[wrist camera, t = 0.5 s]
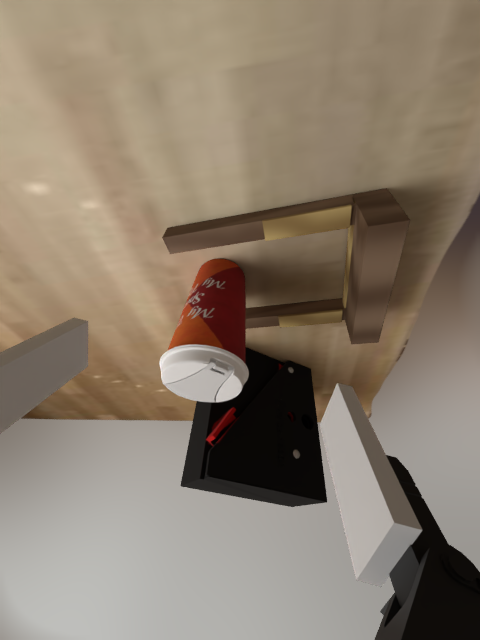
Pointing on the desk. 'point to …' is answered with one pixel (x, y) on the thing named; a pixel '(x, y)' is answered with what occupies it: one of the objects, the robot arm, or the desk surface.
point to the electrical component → (260, 438)
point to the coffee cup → (210, 337)
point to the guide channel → (313, 217)
